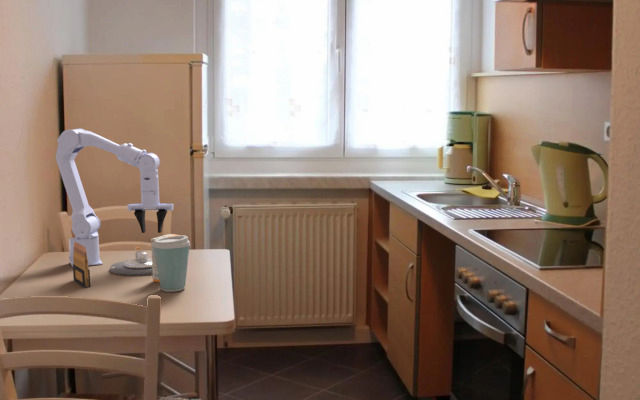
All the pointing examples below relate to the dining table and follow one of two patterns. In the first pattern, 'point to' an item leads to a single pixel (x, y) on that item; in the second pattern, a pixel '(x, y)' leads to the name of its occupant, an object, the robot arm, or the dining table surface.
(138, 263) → the dial
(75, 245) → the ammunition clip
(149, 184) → the robot arm
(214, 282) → the dining table surface
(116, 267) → the dial base
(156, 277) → the supplement box
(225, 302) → the dining table surface
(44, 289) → the dining table surface
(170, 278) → the disposable coffee cup
